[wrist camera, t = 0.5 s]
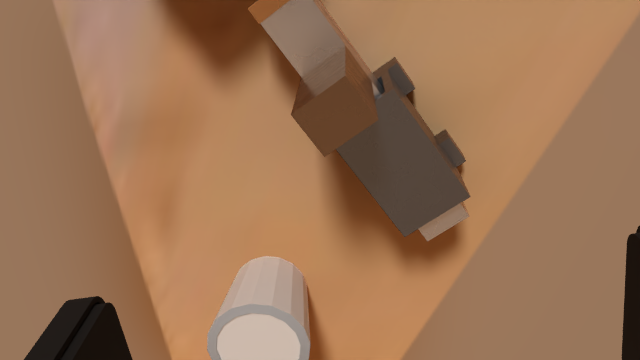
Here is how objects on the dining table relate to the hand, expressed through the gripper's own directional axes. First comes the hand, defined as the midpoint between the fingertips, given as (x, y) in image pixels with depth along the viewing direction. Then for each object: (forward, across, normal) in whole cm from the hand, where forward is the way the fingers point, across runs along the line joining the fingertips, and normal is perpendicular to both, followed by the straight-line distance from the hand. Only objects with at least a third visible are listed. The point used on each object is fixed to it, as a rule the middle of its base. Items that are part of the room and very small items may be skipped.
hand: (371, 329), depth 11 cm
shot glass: (+30, +8, +17) cm, 35 cm away
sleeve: (+29, -3, +6) cm, 30 cm away
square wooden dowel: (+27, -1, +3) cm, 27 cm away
